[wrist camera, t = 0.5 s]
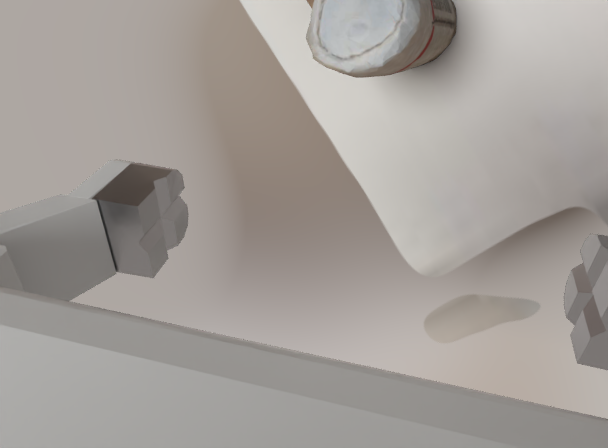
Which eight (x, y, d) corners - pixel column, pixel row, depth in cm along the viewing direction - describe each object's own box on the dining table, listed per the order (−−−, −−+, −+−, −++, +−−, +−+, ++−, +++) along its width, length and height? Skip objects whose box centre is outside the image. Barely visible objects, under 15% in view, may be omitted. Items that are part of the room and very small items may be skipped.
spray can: (357, 12, 51) (274, 12, 34) (426, -44, 47) (371, -76, 30) (401, 82, 52) (341, 116, 35) (472, 33, 48) (444, 45, 31)
